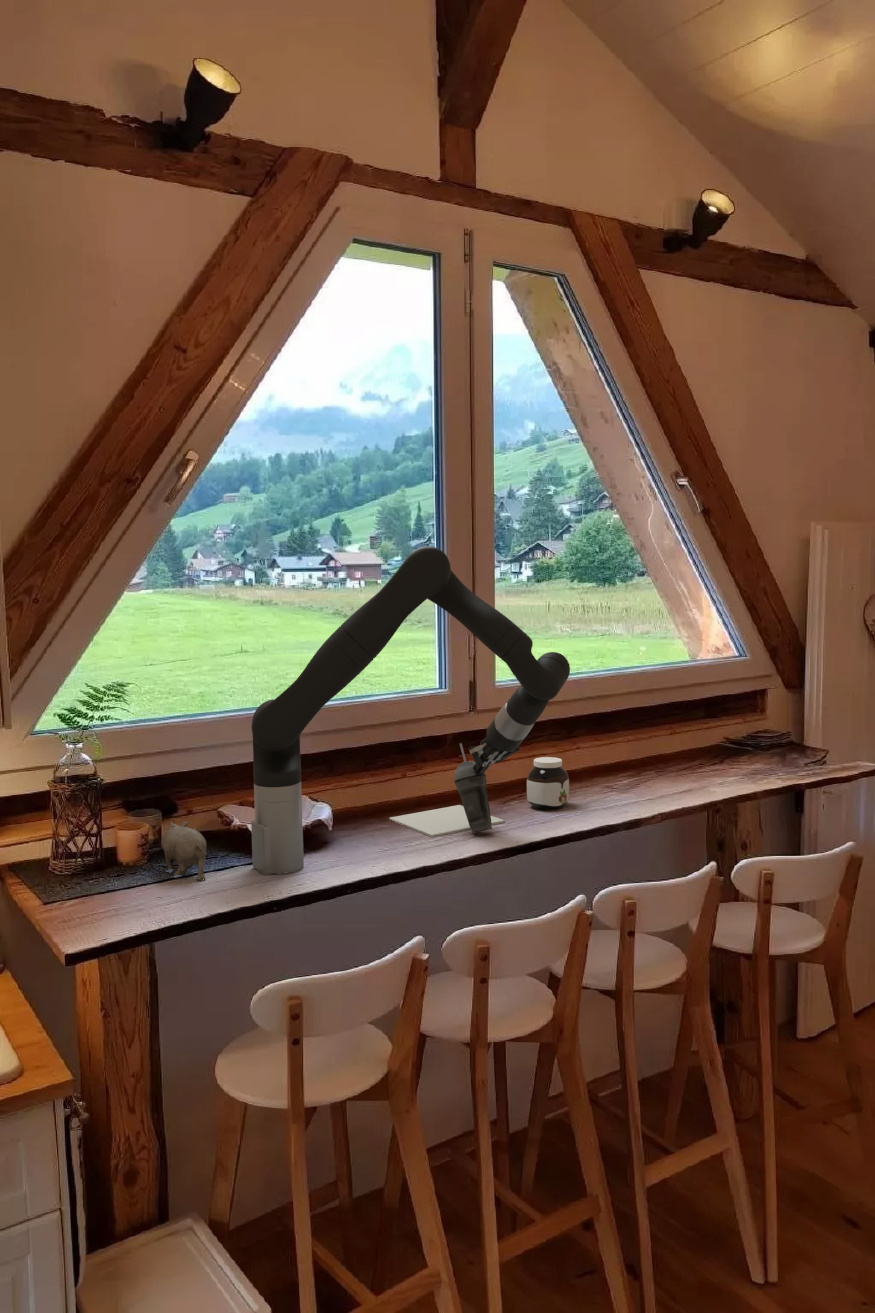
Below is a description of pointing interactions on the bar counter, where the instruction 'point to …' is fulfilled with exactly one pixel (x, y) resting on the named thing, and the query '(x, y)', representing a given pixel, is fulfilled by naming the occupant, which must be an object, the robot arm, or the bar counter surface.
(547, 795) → the spread jar
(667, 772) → the bar counter surface
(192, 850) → the elephant figurine
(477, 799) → the beverage cup
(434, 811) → the white flat panel
